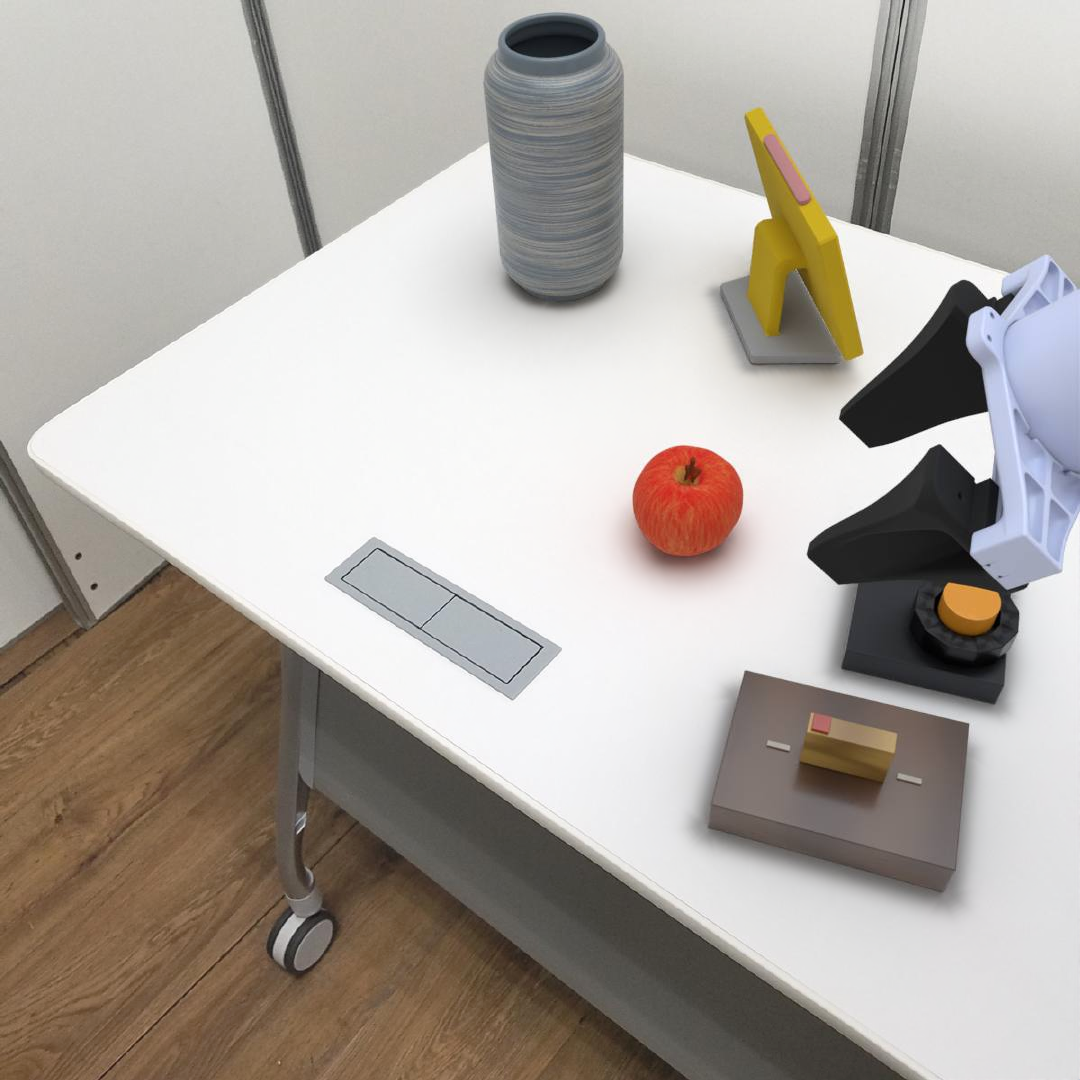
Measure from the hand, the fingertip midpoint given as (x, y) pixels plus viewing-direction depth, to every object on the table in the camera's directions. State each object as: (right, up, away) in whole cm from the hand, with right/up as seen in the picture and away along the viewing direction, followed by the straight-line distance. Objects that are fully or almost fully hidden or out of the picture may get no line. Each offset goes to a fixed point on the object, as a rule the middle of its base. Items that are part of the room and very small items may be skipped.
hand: (840, 493), depth 44 cm
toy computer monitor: (+9, +18, +55) cm, 58 cm away
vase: (-10, +24, +61) cm, 66 cm away
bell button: (+16, -7, +28) cm, 33 cm away
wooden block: (+6, -15, +22) cm, 28 cm away
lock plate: (+6, -17, +24) cm, 31 cm away
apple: (-1, -1, +39) cm, 39 cm away
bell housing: (+15, -7, +33) cm, 37 cm away
